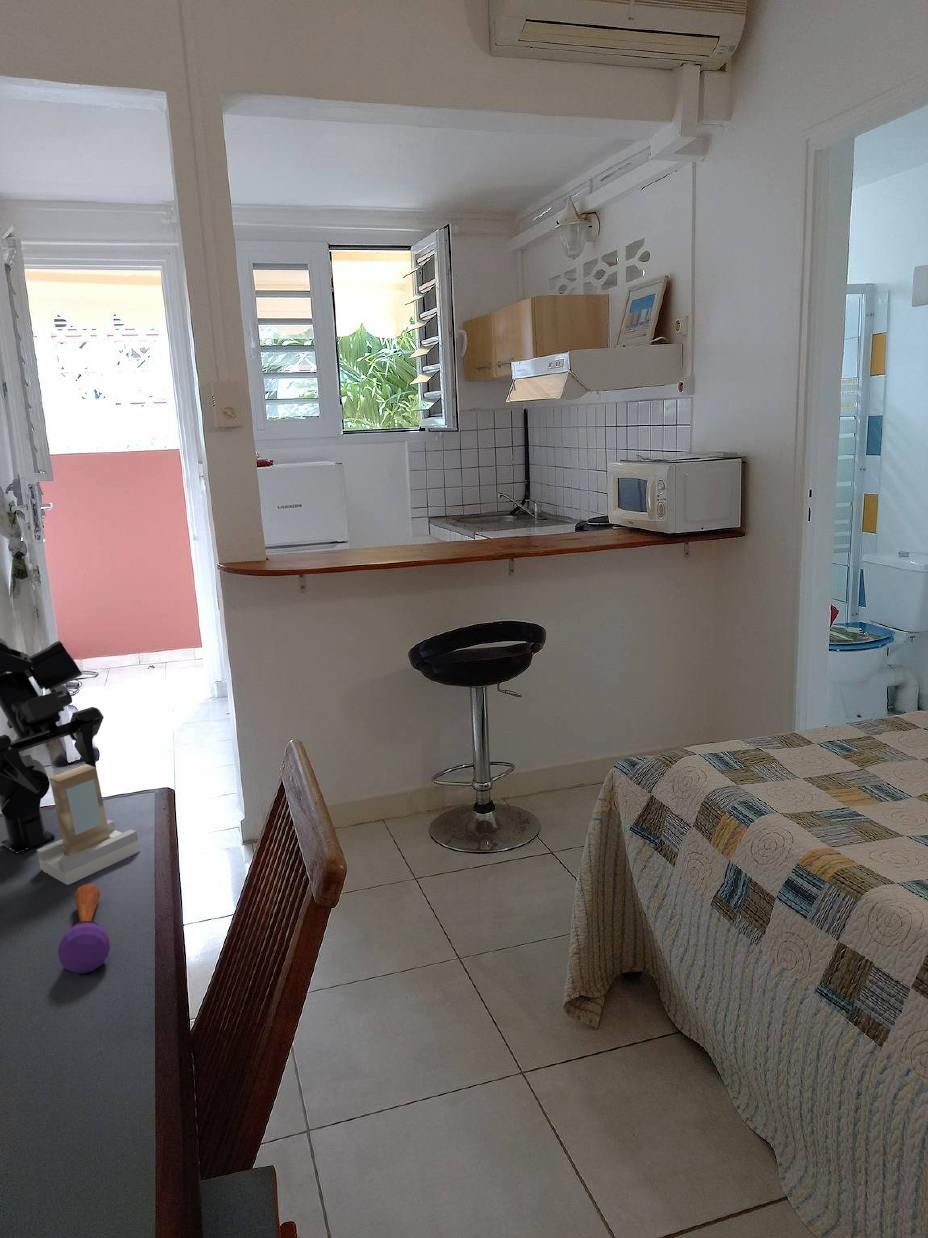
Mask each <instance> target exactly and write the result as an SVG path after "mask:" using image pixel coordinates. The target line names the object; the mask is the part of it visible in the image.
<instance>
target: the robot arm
mask: <svg viewBox="0 0 928 1238" xmlns="http://www.w3.org/2000/svg"><path fill="white" fill-rule="evenodd" d="M81 676H83V674H82V671H81V670H80V668H79V666H78V665H77V663H76V662H75V659H74V658H73V657H72V656H71V655H70V653H69V652H68V651H67V649H66V648H65V645H63V643H62V641H60V640H58V641H55V642H53V643H52V644H50V645H49V646H47V647H46V648H44V649H42V650H40V651H39V652H36V653H34V654H32V655H30V654H27V653H25V652H22V651H19V650H16V649H14V648H12V647H10V646H9V645H8V643H7V642H6V640H4V639H2V638H1V637H0V709H1V710H2V712H3V714H4V716H5V717H6V720H7V723H6V725H7V727H8V729H12V730H14V733H15V734H16V736H17V738H18V739H14V740H12V739H11V737H10V736H9V735H7V734H3V735H0V811H1V815H2V819H3V823H4V827H5V831H6V835H7V839H5V840H3V841H1V842H0V844H4V845H5V846H7V847H8V848H11V849H12V850H14V851H15V852H20V851H22V850H25V849H26V848H30V847H32V848H34V847H33V846H35V845H37V846H39V845H38V844H40V845H42V844H44V843H46V841H47V842H48V840H49V841H51V840H53V839H54V840H55V838H56V835H55V834H54V833H52V832H50V831H48V830H46V828H45V827H46V825H45V821H44V818H43V817H44V816H43V813H42V809H41V803H42V802H41V800H42V799H43V798H44V797H45V796H46V794H48V793H49V792H48V791H49V789H50V786H51V783H50V778H49V776H48V773H47V771H46V768H45V767H44V765H43V763H41V762H40V761H39V760H37V759H33V758H32V755H31V754H25V755H20V754H21V753H20V752H23V751H25V750H28V749H32V748H35V747H38V746H40V745H44V744H46V743H50V742H52V741H55V740H58V739H61V738H64V737H68V736H69V737H70V739H71V740H72V741H74V744H73V747H74V748H75V750H76V751H77V753H78V754H79V756H80V757H81V759H82V760H83V762H84V763H85V765H86V764H88V765H90V766H93V767H96V768H97V764H96V758H95V753H94V752H95V751H94V745H93V740H94V738H95V736H97V735H98V733H99V730H100V727H101V724H102V723H103V721H104V715H103V714H102V712H101V710H100V709H98V708H97V707H96V706H95V707H94V706H90V707H87V708H84V709H80V710H78V711H75V712H72V714H71V717H70V721H69V722H66V723H64V724H60V725H57V722H58V723H59V722H60V720H61V715H60V714H59V713H61V712H64V711H65V708H66V707H68V706H70V704H72V703H73V698H72V695H71V693H70V691H69V689H68V688H67V687H66V686H65V684H68V683H69V682H71V681H73V680H75V679H76V678H80V677H81ZM32 677H33V679H34V681H35V683H36V685H37V686H38V687H39V689H40V690H41V691H42V690H43V689H44V690H45V691H47V690H49V691H50V693H49V692H48V693H46V694H42V695H39V693H38V692H37V690H36V689H35V686H34V685H33V683H32V682H31V680H30V678H32ZM35 847H36V846H35ZM8 848H7V849H8ZM30 849H31V848H30ZM25 851H26V850H25ZM15 852H14V853H15ZM20 853H21V852H20Z"/></svg>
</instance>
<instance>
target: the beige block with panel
mask: <svg viewBox="0 0 928 1238" xmlns="http://www.w3.org/2000/svg"><path fill="white" fill-rule="evenodd" d="M49 782H50V787H51V792H52V797H53V802H54V806H55V811H56V815H57V820H58V825H59V829H60V834H61V839H62V840H63V844H64V847H63V851H64V854H65V855H67V856H72V855H74V854H76V853H78V852H81V851H83V850H85V849H87V848H90V847H92V846H94V845H97V844H99V843H101V842H103V841H106V840H108V839H110V838H111V837H110V835H109V830H108V825H107V820H108V819H107V816H106V810H105V806H104V800H103V796H102V791H101V785H100V779H99V775H98V771H97V766H96V767H93V766H90V765H88V764H86V763H85V764H84V765H81V766H78V767H75V768H72V769H70V770H66V771H64V772H62V773H59V774H57V775H53V776H50V777H49Z"/></svg>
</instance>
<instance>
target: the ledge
mask: <svg viewBox="0 0 928 1238" xmlns="http://www.w3.org/2000/svg"><path fill="white" fill-rule="evenodd" d="M106 820H107V825H108V830H109V835H110V837H111V838H110V839H108V840H106V841H103V842H101V843H99V844H97V845H94V846H92V847H90V848H87V849H85V850H83V851H81V852H78V853H76V854H74V855H72V856H67V855H65V854H64V851H63V847H64V844H63V840H62V838H60V839H58V840H57V841H55V842H52V843H48V844H47V845H45V846H42V847H40V848H38V849H36V853H37V857H38V861H39V863H38V864H39V866H40V867H39V868H40V870H41V869H42V870H43V871H42V870H41V871H42V872H44V873H46V874H47V873H48V874H47V875H49V876H50V877H52V878H53V879H56V880H58V881H60V882H61V883H62V884H64V885H66V886H68V885H72V884H73V883H76V882H78V881H80V880H82V879H84V878H86V877H89V876H90V875H92V874H95V873H97V872H99V871H101V870H103V869H104V870H105V869H106V868H108V867H110V866H112V865H115V864H116V863H118V862H121V861H123V860H124V859H127V858H130V857H132V856H134V855H136V854H138V853H140V852H141V849H140V844H139V839H138V832H137V830H133V829H131V828H130V829H129V830H126V831H124V832H121V831H119V830H116V827H115V826H116V825H115V822H114V820H112V819H110V818H108V819H106Z"/></svg>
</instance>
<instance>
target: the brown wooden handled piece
mask: <svg viewBox="0 0 928 1238" xmlns="http://www.w3.org/2000/svg"><path fill="white" fill-rule="evenodd" d="M100 895H101V893H100V889H99V888H98V887H97V886H96V885H95V884H92V883H86V884H82V885H80V886H79V887H78V888H77V889H76V891H75V893H74V900H75V904H76V909H77V914H78V919H79V922H77V923H76V924H74V925H73V926H72V927H71V928H69V929H68V930H66V931H65V933H64V934H63V935H62V937H61V938H60V940H59V944H58V948H57V955H58V961H59V963H60V964H61V966H63V967H64V969H66V970H68V971H69V972H72V973H74V974H87V973H89V972H90V973H91V972H93V971H94V970H96V969H98V968H99V967H100V966H102V965H103V963H104V962H105V961H106V959H107V958H108V956H109V954H110V953H109V952H110V949H111V940H110V937H109V933H108V932H107V930H105V928H104V927H103V926H101V925H99V924H98V923H96V922H95V921H94V920H93V917H94V915H95V912H96V908H97V905H98V902H99V899H100Z"/></svg>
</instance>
